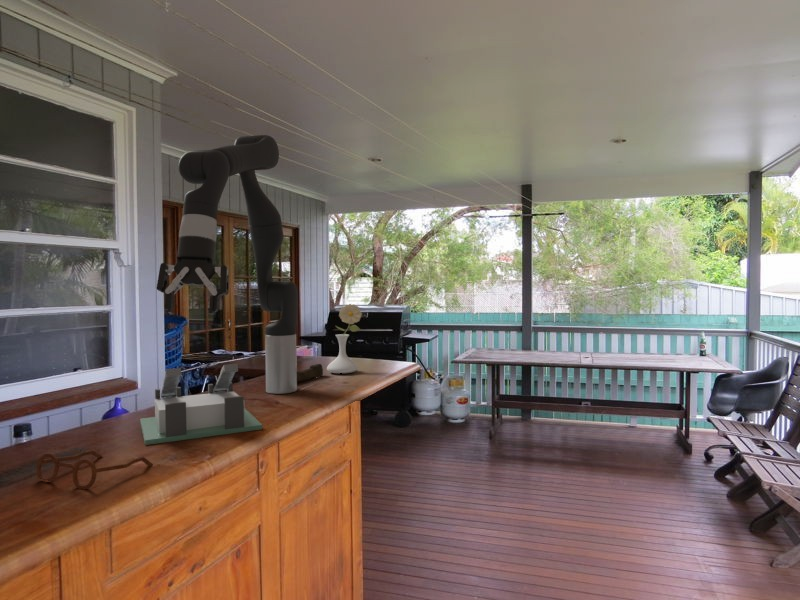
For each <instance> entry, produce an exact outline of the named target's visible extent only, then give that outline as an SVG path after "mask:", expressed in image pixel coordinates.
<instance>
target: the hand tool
mask: <svg viewBox="0 0 800 600" xmlns="http://www.w3.org/2000/svg"><path fill="white" fill-rule="evenodd" d="M323 370H324V369H323V365H322V364H321V363H316V364H311V365H309V368H306V369H303V370H300V371H299V370H297V383H299V382H301V381H305V380H309V379H314V378H315V379H317V378H316V377H319V376H321V375H322V376H323V375H324V371H323ZM322 376H321V377H322ZM319 378H320V377H319Z"/></svg>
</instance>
